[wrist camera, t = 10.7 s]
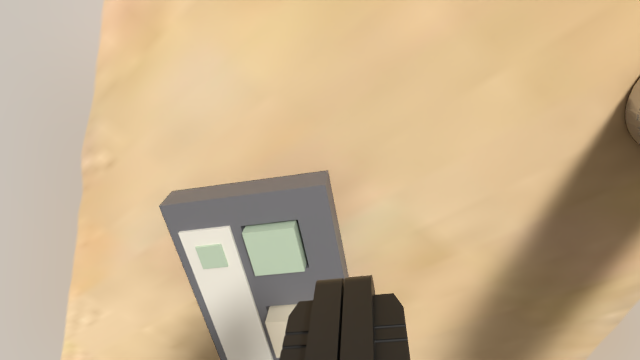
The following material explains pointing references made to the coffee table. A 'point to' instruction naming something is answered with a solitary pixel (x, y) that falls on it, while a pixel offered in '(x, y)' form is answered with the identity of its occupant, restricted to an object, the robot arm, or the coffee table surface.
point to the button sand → (278, 325)
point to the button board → (233, 260)
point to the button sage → (275, 247)
